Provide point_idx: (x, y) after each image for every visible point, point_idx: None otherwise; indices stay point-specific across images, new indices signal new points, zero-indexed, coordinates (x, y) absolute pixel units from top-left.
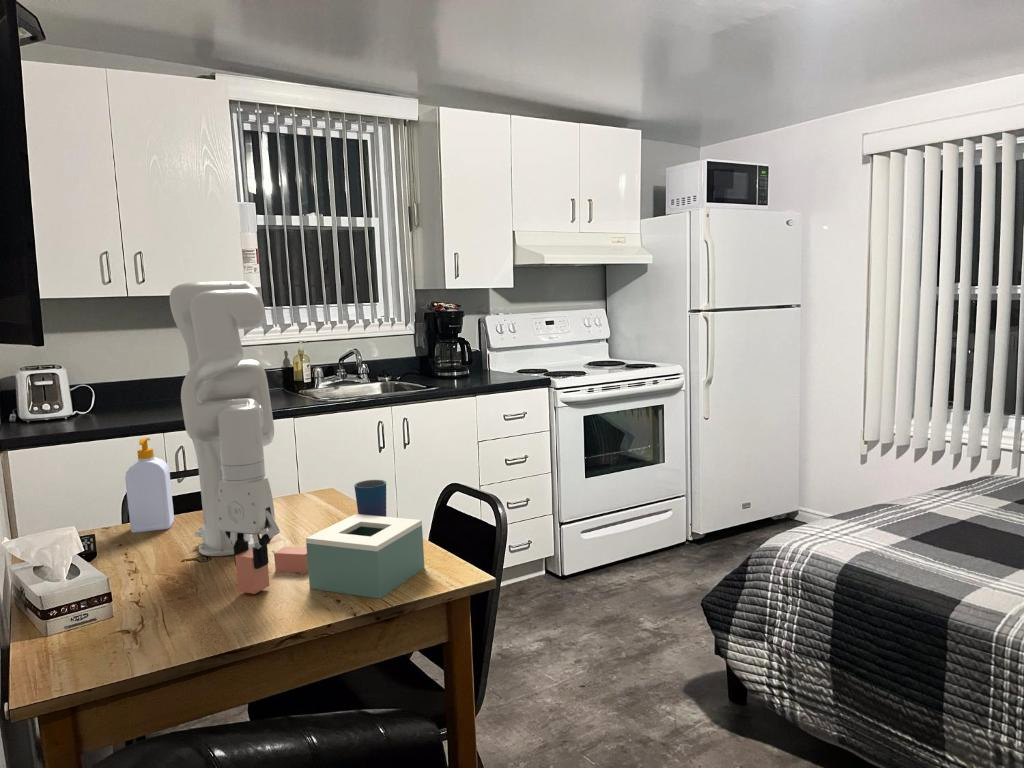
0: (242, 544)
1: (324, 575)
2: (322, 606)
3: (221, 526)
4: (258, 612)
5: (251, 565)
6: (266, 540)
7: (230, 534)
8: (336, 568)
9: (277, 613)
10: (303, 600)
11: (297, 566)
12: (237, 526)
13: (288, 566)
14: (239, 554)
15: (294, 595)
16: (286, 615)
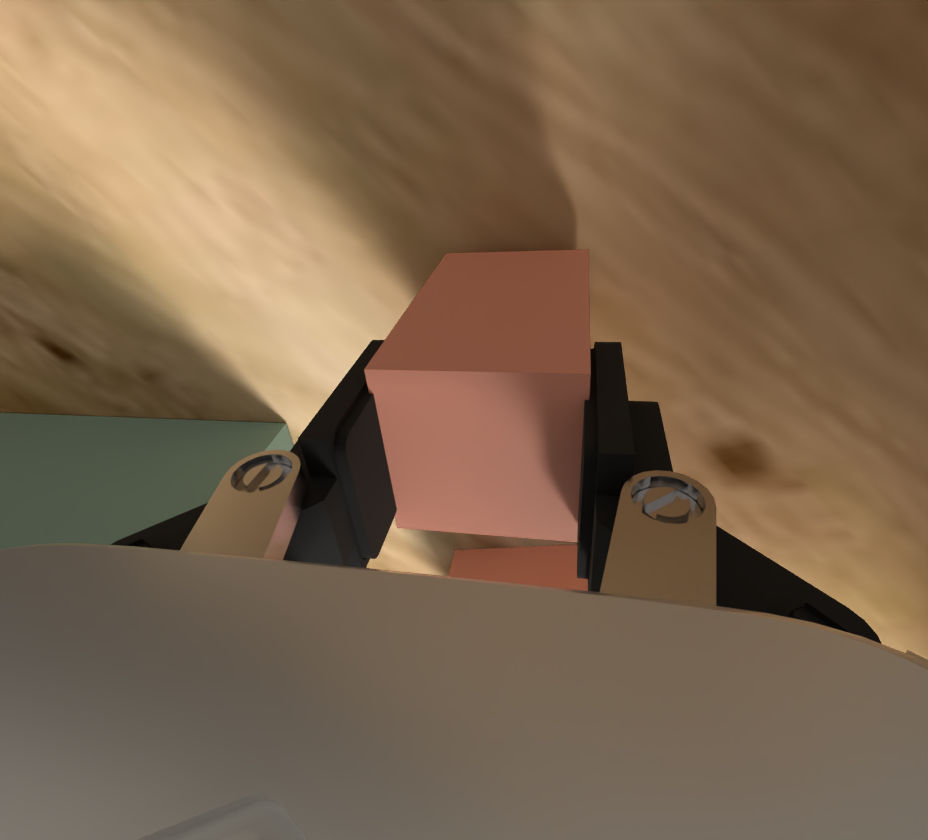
0: (581, 525)
1: (154, 466)
2: (47, 277)
3: (920, 713)
4: (235, 61)
5: (399, 335)
6: (131, 535)
7: (714, 593)
8: (52, 494)
9: (129, 104)
10: (185, 305)
11: (492, 570)
12: (304, 684)
13: (541, 567)
14: (566, 410)
15: (278, 341)
16: (64, 104)
